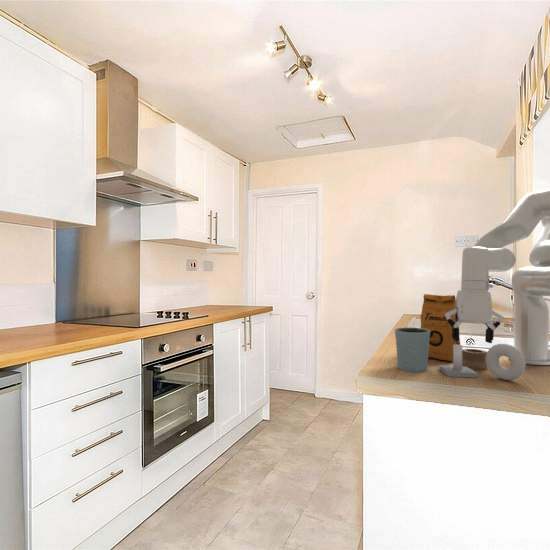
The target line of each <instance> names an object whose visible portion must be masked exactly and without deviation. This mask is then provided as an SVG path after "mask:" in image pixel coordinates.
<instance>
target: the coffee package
mask: <svg viewBox="0 0 550 550" xmlns="http://www.w3.org/2000/svg"><path fill="white" fill-rule="evenodd" d="M455 302H456V295H454V294H453V295H451V294H450V295H438V294H437V295H436V294H426V293H423V303H422V305H421V306H422V309H421V313H420V328H422V329H427V330H430V339H429V351H428V359H429V358H430V359H434V360H439V361H444V360H445V361H447V362H451V363H453V345H461V339H460V338H461V337H460V335H459V341H455V340H453V338H452V327H451V325H450V324H449V323H448V322H447V320H446V318H445V316H444V313H445V312H448V311H450V310H452V309H455ZM450 317H451V320H452V321H453V322H454V321H455V319H454V314H452V315H451V316H450ZM458 328H459V329H460V325H459V326H458ZM445 361H444V362H445Z"/></svg>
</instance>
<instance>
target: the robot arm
mask: <svg viewBox="0 0 550 550" xmlns="http://www.w3.org/2000/svg"><path fill="white" fill-rule="evenodd" d="M540 221H541V227H542V228H541V229H542V230H541V232H540V234H539V236H538V238H537V240H536V242H535V244H534V245H533V247H532V249H531V251H530V253H529V258H528V259H529V263H530V264H531V265H532V266H525V267H520V268H518V269H516V270H515V271H514V272H513V274H512V276H511V287H512V292H513V298H514V334H513V335H514V343H513V344H514V346H513V347H515V348H517V349H518V350H519V351H520V352H521V353H522V355H523V357H524V359H525V364H526V365H534V366H550V348H549V346H550V345H549V339H550V338H549V336H550V334H549V333H550V324H549V323H550V308H549V305H548V303H547V301H546V300H545V298H544V297H550V188H545V189H541V190H536V191H532V192H531V191H530V192H528V193H527V194H525V195H524V196H523V197H522V198H521V199H520V200H519V201H518V202H517V204H516V206H514V209H513V210H512V211H511V212H510V214H509V215H508V217H507V218H506V220H504V222H502V223H500V224H498V226H496V227H495V228H493V229H491V230H490V231H488V232H487V233H485V234H484V235H483V236H482V237H480V238H479V239H478V240H477V242H476V243H475V244H474V245H473V246H470V247H469V246H467V247H465V248H463V250H462V258H461V282H460V285H461V286H460V290H457V292H456V295H455V299H456V302H455V309H452V310H450V311H448V312H445V313H444V316H445V318H446V320H447V322H448V323H449V324H450V325H451V327H452V338H453V340H455V341H459V336H460V325H461V324H462V323H466V324H468V323H469V324H483V325H485V327H486V328H485V339H484V341H485V342H486V343H489V344H492V343H493V341H494V333H495V332H494V331H495V330H496V329H497V328H498V327H499V326H500V325H501V323H502V322H503V320H504V318H505V317H504V315H502V314H499V313H497V312H496V311H494V310H493V302H492V301H493V300H492V295H491V292H490V291H489V289H493V287H494V285H493V283H490V281H489V273H490V272H492V273H493V272H494V273H495V272H496V273H500V272H501V273H502V272H506V271H509V270H511V269H513V268H514V266H515V265H516V261H517V258H516V255H515V253H514V252H513V250H511V249H508V248H506V246H509V245H511V244H515V243H517V242H520V241H522V240H525V239H526V238H528V237H529V236H531V234H532V233H533V231H534V230H535V229H536V227H537V225H538V224H539V223H540ZM504 247H505V248H504ZM452 314H454V319H455V321H454V322H453V321H452V320H451V317H450V316H451V315H452ZM493 318H495V321H493ZM492 321H493V322H492ZM458 326H459V328H458Z"/></svg>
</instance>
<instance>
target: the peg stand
mask: <svg viewBox="0 0 550 550" xmlns="http://www.w3.org/2000/svg"><path fill="white" fill-rule="evenodd" d="M462 350H463V345H462V344H460V345H453V362H452V365H438V366H439V367H438V369H439V370H441V373H442V374H444V375H445V376H446V377H449V376H451V378H456V377H457V378H459V377H460V378H475V377H477V378H478V375H479V373H478V372H476V371H475V370H474V369H470V368H469V367H467V366H462Z"/></svg>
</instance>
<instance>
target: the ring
mask: <svg viewBox="0 0 550 550" xmlns="http://www.w3.org/2000/svg"><path fill="white" fill-rule="evenodd" d="M487 352H488V351H486V350H483V349H477V348H462V366H467V367H469V368H471V369H472V370H478V369H484V370H486V369H485V368H487V369H488V367H487V365H486V354H487Z"/></svg>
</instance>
